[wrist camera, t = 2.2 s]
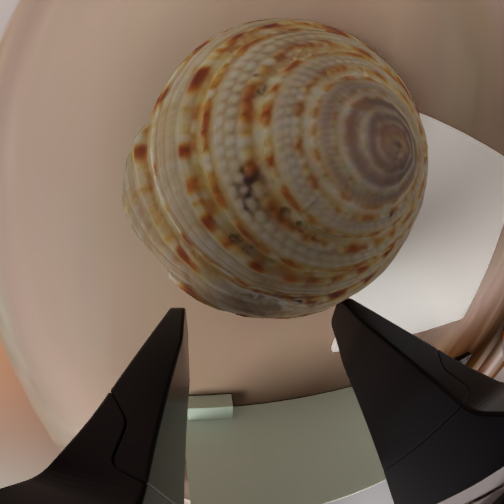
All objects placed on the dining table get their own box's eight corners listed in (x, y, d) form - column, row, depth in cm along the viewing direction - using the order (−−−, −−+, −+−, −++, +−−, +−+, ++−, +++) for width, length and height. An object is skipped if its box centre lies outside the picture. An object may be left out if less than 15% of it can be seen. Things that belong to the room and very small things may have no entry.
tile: (514, 164, 9) (517, 165, 9) (460, 315, 15) (462, 318, 14) (391, 103, 7) (396, 103, 7) (330, 347, 12) (332, 352, 12)
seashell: (59, 259, 6) (254, -101, 1) (145, 156, 10) (276, -18, 5) (300, 380, 8) (530, 261, 4) (302, 261, 13) (445, 152, 8)
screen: (402, 360, 15) (452, 439, 9) (379, 393, 17) (417, 464, 11) (179, 396, 12) (189, 521, 6) (187, 426, 14) (198, 525, 8)
